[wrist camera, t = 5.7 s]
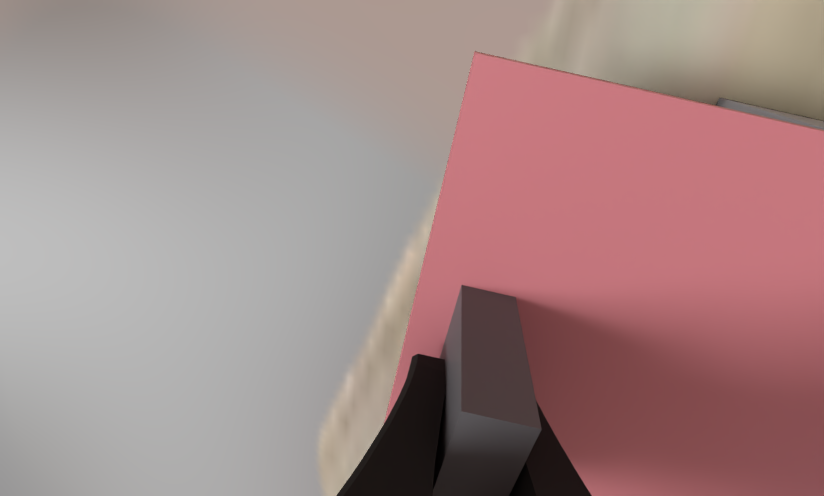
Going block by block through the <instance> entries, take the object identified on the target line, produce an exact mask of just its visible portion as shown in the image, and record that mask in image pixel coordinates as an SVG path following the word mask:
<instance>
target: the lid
mask: <svg viewBox="0 0 824 496" xmlns="http://www.w3.org/2000/svg"><path fill="white" fill-rule="evenodd" d="M416 354H422V355H427V356H431V357H436V358H440V359H445V373H446V389H445V396H444V403H443V410H442V417H441V424H440V431H439V439H438V446H437V453H436V460H435V468H434V480H433V496H509V495H510V493H511V491H512V489H513V487H514V484H515V482H516V480H517V478H518V476H519V474H520V472H521V470H522V468H523V466H524V464H525V462H526V460H527V458H528V456H529V454H530V452H531V450H532V448H533V446H534V444H535V442H536V440H537V438H538V436H539V434H540V432H541V424H540V419H539V413H538V408H537V403H538V404H539V406H540V408H541V410H542V412H543V414H544V416H545V417H546V419H547V421H548V423H549V425H550V426H551V428H552V430H553V432H554V434H555V435H556V437H557V439H558V441H559V442H560V444H561V446H562V448H563V449H564V451H565V453H566V454H567V456H568V458H569V459H570V461H571V463H572V464H573V466H574V468H575V469H576V471H577V473H578V474H579V476H580V478H581V479H582V481H583V482H584V484H585V486H586V487H587V489H588V490H589V492H590V494H591V495H592V496H824V130H822V129H817V128H813V127H809V126H804V125H800V124H795V123H791V122H786V121H782V120H778V119H773V118H769V117H764V116H760V115H755V114H751V113H746V112H742V111H738V110H733V109H729V108H724V107H720V106H715V105H711V104H707V103H702V102H698V101H693V100H689V99H684V98H680V97H675V96H671V95H667V94H662V93H658V92H653V91H649V90H644V89H640V88H636V87H631V86H627V85H622V84H618V83H613V82H609V81H604V80H600V79H596V78H591V77H587V76H582V75H578V74H573V73H569V72H565V71H560V70H556V69H551V68H547V67H542V66H538V65H534V64H529V63H525V62H520V61H516V60H511V59H507V58H502V57H498V56H494V55H489V54H485V53H480V52H476V51H475V52H474V56H473V61H472V64H471V68H470V72H469V76H468V81H467V85H466V89H465V93H464V97H463V101H462V105H461V109H460V114H459V118H458V122H457V126H456V130H455V134H454V138H453V142H452V146H451V150H450V155H449V159H448V163H447V167H446V171H445V175H444V179H443V183H442V187H441V192H440V196H439V200H438V204H437V208H436V212H435V216H434V220H433V224H432V229H431V233H430V237H429V241H428V245H427V249H426V253H425V257H424V261H423V265H422V270H421V274H420V278H419V282H418V286H417V290H416V294H415V298H414V302H413V307H412V311H411V315H410V319H409V323H408V327H407V331H406V335H405V339H404V344H403V348H402V352H401V356H400V360H399V364H398V368H397V372H396V376H395V381H394V385H393V389H392V393H391V397H390V401H389V405H388V409H387V413H386V418H385V422H386V420H387V418H388V416H389V414H390V412H391V410H392V408H393V406H394V405H395V403H396V401H397V399H398V397H399V395H400V392H401V390H402V388H403V386H404V383H405V381H406V378H407V374H408V371H409V367H410V363H411V359H412V356H414V355H416ZM536 401H537V403H536ZM385 422H384V423H385Z"/></svg>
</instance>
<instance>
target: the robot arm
mask: <svg viewBox="0 0 824 496" xmlns="http://www.w3.org/2000/svg"><path fill="white" fill-rule="evenodd" d="M445 389H446V373H445V359H440V358H436V357H431V356H427V355H422V354H416V355H414V356H412V359H411V363H410V367H409V371H408V374H407V378H406V381H405V383H404V386H403V388H402V390H401V392H400V395H399V397H398V399H397V401H396V403H395V405H394V406H393V408H392V410H391V412H390V414H389V416H388V418H387V420H386V422H385V423H384V425H383V427H382V428H381V430H380V432H379V433H378V435H377V437H376V438H375V440H374V441H373V443H372V445H371V446H370V448H369V449H368V451H367V453H366V454H365V456H364V457H363V459H362V460H361V462H360V463H359V465H358V466H357V468H356V469H355V471H354V472H353V474H352V475H351V476H350V478H349V479H348V481H347V482H346V483H345V485H344V486H343V487H342V489H341V490H340V492H339V493H338V494H337V496H433V480H434V468H435V460H436V453H437V446H438V439H439V431H440V424H441V417H442V410H443V403H444V396H445ZM536 403H537V401H536ZM537 408H538V413H539V419H540V424H541V432H540V434H539V436H538V438H537V440H536V442H535V444H534V446H533V448H532V450H531V452H530V454H529V456H528V458H527V460H526V462H525V464H524V466H523V468H522V470H521V472H520V474H519V476H518V478H517V480H516V482H515V484H514V487H513V489H512V491H511V493H510V495H509V496H592V495H591V494H590V492H589V490H588V489H587V487H586V486H585V484H584V482H583V481H582V479H581V478H580V476H579V474H578V473H577V471H576V469H575V468H574V466H573V464H572V463H571V461H570V459H569V458H568V456H567V454H566V453H565V451H564V449H563V448H562V446H561V444H560V442H559V441H558V439H557V437H556V435H555V434H554V432H553V430H552V428H551V426H550V425H549V423H548V421H547V419H546V417H545V416H544V414H543V412H542V410H541V408H540V406H539V404H538V403H537Z"/></svg>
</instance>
